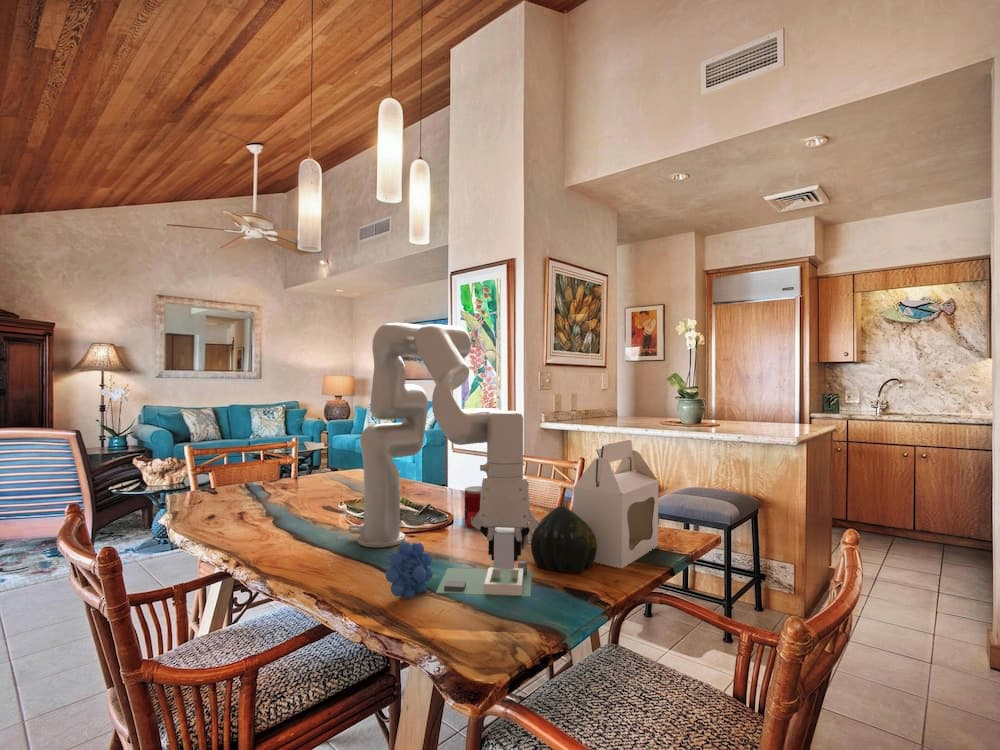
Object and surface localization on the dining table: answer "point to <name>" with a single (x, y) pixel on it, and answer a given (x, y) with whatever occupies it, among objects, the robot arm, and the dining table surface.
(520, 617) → the dining table surface
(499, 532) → the plug
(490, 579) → the frame
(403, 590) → the grapes
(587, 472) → the gable box
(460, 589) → the board
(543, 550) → the squash
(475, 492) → the canned food
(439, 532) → the dining table surface
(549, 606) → the dining table surface
